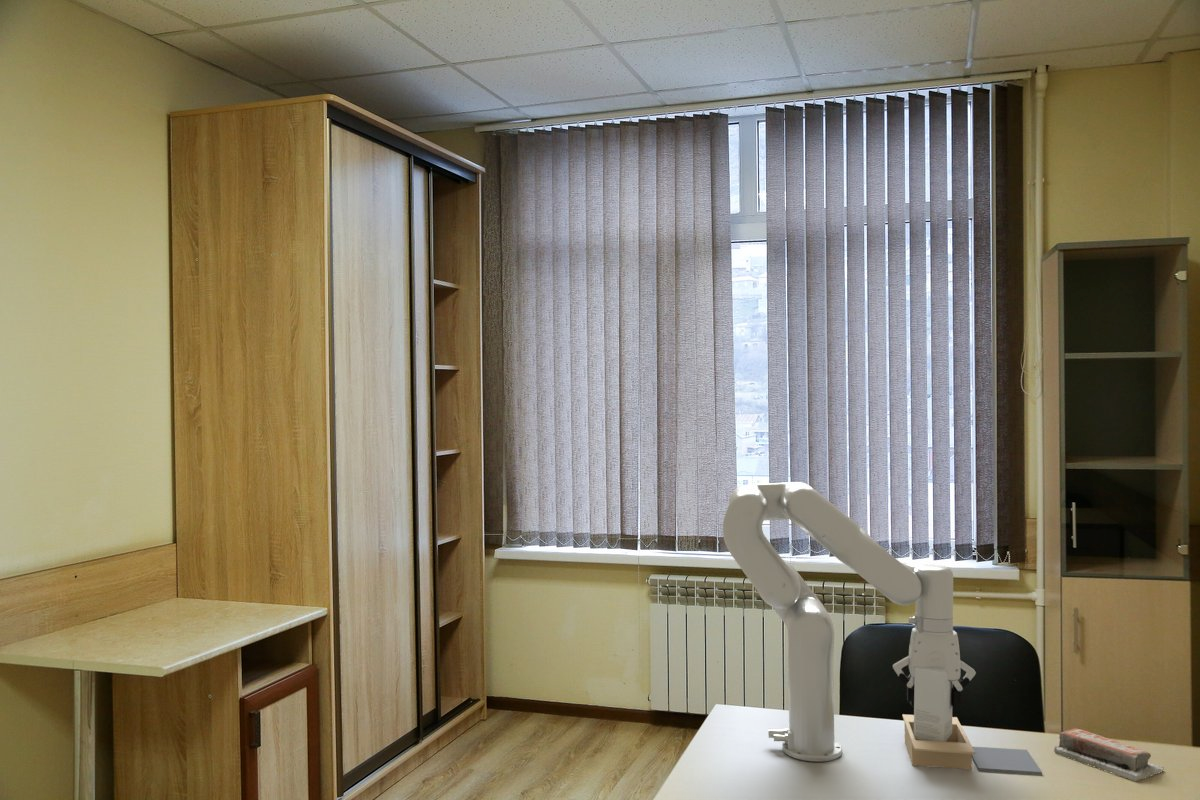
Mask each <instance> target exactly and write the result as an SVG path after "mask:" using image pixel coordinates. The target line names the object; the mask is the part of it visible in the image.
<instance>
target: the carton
mask: <svg viewBox="0 0 1200 800" xmlns="http://www.w3.org/2000/svg"><path fill="white" fill-rule="evenodd" d="M902 719H903V723H904V745H905V748H906V751H907V754H908V755H909V759H910V762H911V766H914V767H915V766H916V767H918V766H919V767H929V768H930V767H931V768H932V767H933V768H947V769H960V770H961V769H964V770H972V768H973V765H972V763H973V762H972V761H973V759H972V755H971V754H975V751H974V749H973V747H974V746H973V745H972V744H971V741H970V739H969V738H968V736H967V733H966V732H965V730H964V728H963V726H962V725H961V723H960V721H959V718H958V717H957V716H952V734H951V735H950V737H949V738H948V740H947V741H946V742H940V741H923V740H916V739H915V737H914V714H904V713H903V714H902Z"/></svg>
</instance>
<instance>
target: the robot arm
mask: <svg viewBox="0 0 1200 800" xmlns="http://www.w3.org/2000/svg"><path fill="white" fill-rule="evenodd" d="M780 520H782V521H783V520H784V521H785V520H790V521H791V522H792V523H793V524H794V525H796V526H797V527H798V528H799V529H800V530H802V531H803V532H804V533H806V535H808V536H810V538H812V539H813V540H814V541H816V543H818V544H819V545H820V546H822V547H823V548H824V549H825V550H826V551H828V552H829V553H830V554H831V555H833V556H834V557H835V558H836V559H837V560H838V561H840V562H841V563H842V564H844V565H845V566H848V568H850V569H851V570H853V571H854V572H855V573H856V574H858V575H859V576H860V577H861V578H862V579H864V580H865V581H866V582H867V583H869V584H870V585H871V586H872V587H873V588H874V589H876V590H877V591H878V592H880V593H881V594H882V595H883V596H885V598H887V599H888V600H889V601H891V602H892V603H894V604H896V605H898V606H899V605H900V606H909V605H912V604H914V603H915V613H914V616H913V617H909V616H908V624H910V625H914V627H913V628H912V629H911V633H910V634H911V635H910V639H909V647H908V655H907V656H906V657H903V658H902V659H900V660H898V661H896V662H895V663H893V664H892V669H893V670H894V672H895V673H896V675H897V677H898V678H899V679H900V680H901V681H902V682H903V683H904V684H905V685H906V701H907V702H909V704H910V705H911V707H912V708H914V684H915V667H922V668H937V669H947V670H948V681H952V683H953V688H952V709H953V710H955V711H958V710H959V706H961V704H962V703H961V702H962V701H961V697H962V696H961V694H962V691H963V690H964V688H965V687H967V686H968V685H969V683H970V682H971V681H972V679H973V678H974V677H975V676H976V675H977V672H976V671H975V669H974V668H972V667H971V666H970V665H968V664H967V663H965V662H964V661H962V660H961V653H960V644H959V643H960V642H959V637H958V632H956V631H955V630H954V572H953V571H952V570H951V568H950V567H948V566H945V565H944V566H943V565H939V564H937V565H936V564H922V565H918V564H909V563H905V562H901V561H900V560H898V559H897V558H896V557H895V556H893V555H892V554H891V553H890V552H888V551H887V550H886V549H884V547H882V546H881V545H880V544H879V543H878V542H877V541H875V540H874V538H873V537H871V536H870V534H868V532H867V531H866V530H865V529H863V527H861V525H859V524H858V523H857V522H855V521H854V520H853V519H852V518H851V517H850V516H848V515H847V514H845V513H844V512H843V511H842V510H841V509H839V508H838V507H836V506H835V504H833V503H832V502H831V501H829V500H828V499H827V498H825V497H824V496H823V495H822V494H821V493H819V492H818V491H817V490H816V489H815V488H813V487H812V486H811V485H809V484H808V483H805V482H803V481H791V482H790V481H789V482H776V483H773V482H772V483H754V484H753V483H752V484H751V483H750V484H743V485H740V486H738V487H736V488H735V489H734V490H733V491H732V493H731V494H730V496H729V500H728V506H727V508H726V511H725V513H724V517H723V520H722V535H723V540H724V544H725V546H726V548H727V550H728V552H729V554H730V555H731V557H732V558H733V559H734V561H735V562H736V564H737V566H739V568H740V569H741V570H742V572H743V573H744V575H745V576H746V577H747V579H748V580H749V581H750V583H751V585H752V586H753V587H754V588H755V590H756V592H757V593H758V595H759V596H760V598H761V599H762V601H764V602H765V604H767V605H769V606H770V607H771V608H772V609H773V611H774V612H775V613H776V614H777V616H778V617H779V618H780V620H782V622H783V623H784V624H785V626H786V629H787V635H788V637H787V639H788V640H787V641H788V644H787V645H788V648H787V650H788V655H787V659H788V660H787V664H788V665H787V666H788V668H787V670H788V674H787V677H788V723H789V724H787V728H784V727H783V728H782V729H777V728H768V738H769V739H773V742H782V751H783V753H785V754H786V755H788V757H791V758H794V759H797V760H800V761H805V762H817V763H819V762H820V763H821V762H830V761H833V760H837V759H838V758H839V757H841V756H842V754H843V748H842V745H841V744H840V743H839V742H837V741H835V698H834V697H835V695H834V693H835V691H834V690H835V689H834V685H835V684H834V681H835V680H834V652H835V651H834V649H835V628H834V623H833V620H832V619H831V616H830V614H829V613H828V611H827V609H826V607H825V606H824V605H823V603H822V602H821V600H820V599H819V598H818V597H817V595H816V594H815V592H813V590H812V589H811V587H810V586H809V585H808V584H807V583H806V581H805V580H804V578H803V577H802V576H801V575H800V574H799V572H798V571H797V569H796V568H795V567H794V566H793V565H792V564H791V563H790V562H789V561H788V560H785V559H783V558H782V557H781V556H780V554H779V553H778V552H777V551H776V549H775V547H774V546H773V544H772V543H771V541H769V539H767V536H766V535H765V534H764V530H763V525H764V524H763V523H764V521H780ZM907 666H908V670H909V671H908V672H909V673H910V674H908V676H907V675H906V674H905V673H904V671H903V670H902V669H903V668H904V667H907ZM961 670H963V671H964V672H966V673H965V675H964V676H962V677H961Z"/></svg>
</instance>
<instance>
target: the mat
mask: <svg viewBox="0 0 1200 800" xmlns="http://www.w3.org/2000/svg"><path fill="white" fill-rule="evenodd" d="M972 747H973V749H974V751H975V754H971V755H972V761H973V763H974V764H975V767H976V769H977V770H978V771H979V772H987V773H988V772H989V773H991V772H992V773H1006V774H1020V775H1022V774H1023V775H1034V776H1035V775H1038V776H1042V775H1043V771H1042V769H1041V768H1040V767H1039V765H1038V764H1037V763H1036V761H1035V759H1034V758H1033V757H1032V755H1031V754H1030V752H1029V750H1028V749H1024V748H1023V749H1020V748H1006V747H1005V748H1003V747H1002V748H1001V747H986V746H972Z"/></svg>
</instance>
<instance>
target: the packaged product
mask: <svg viewBox="0 0 1200 800" xmlns="http://www.w3.org/2000/svg"><path fill="white" fill-rule="evenodd" d="M1058 738H1059V742H1058V743H1059V745H1057V746H1054V749H1053V753H1054V752H1055V754H1057V753H1058V755H1060V754H1061V755H1060V756H1063V757H1065V756H1066V758H1068V757H1069V759H1071V758H1072V759H1071V760H1073V759H1075V760H1074V761H1076V760H1077V762H1079V761H1080V762H1079V763H1082V762H1083V763H1082V764H1084V763H1085V764H1084V765H1087V764H1089V765H1088V766H1090V765H1091V767H1093V766H1095V767H1097V768H1096V769H1098V768H1100V769H1099V770H1101V769H1103V770H1102V771H1104V770H1106V771H1108V772H1107V773H1109V772H1112V773H1114V774H1113V775H1115V774H1117V775H1116V776H1118V775H1120V776H1119V777H1121V776H1123V777H1122V778H1124V777H1125V778H1124V779H1127V778H1128V780H1130V779H1131V780H1130V781H1133V782H1138V780H1139V781H1140V779H1142V780H1144V779H1146V778H1145V777H1147V778H1149V777H1148V776H1150V777H1152V776H1151V775H1153V776H1155V775H1154V774H1156V773H1158V774H1160V773H1159V772H1161V771H1163V770H1165V769H1164V767H1165V766H1164V767H1163V766H1160V765H1156V764H1154V763H1150V762H1149V760H1150V758H1151V756H1152V755H1151V753H1150V752H1147V751H1145V750H1142V749H1140V748H1136V747H1134V746H1130V745H1129V744H1126V743H1121V742H1120V741H1117V740H1113V739H1110V738H1107V737H1106V736H1105V737H1104V736H1103V735H1099V734H1096V733H1093V732H1090V731H1087V730H1084V729H1080V728H1076V727H1074V728H1072V729H1069V730H1068V729H1067V730H1065V731H1062V732H1060V733H1059V737H1058ZM1095 767H1094V768H1095ZM1106 771H1105V772H1106ZM1163 772H1164V771H1163ZM1112 773H1111V774H1112ZM1161 773H1162V772H1161ZM1156 775H1157V774H1156ZM1143 778H1144V779H1143Z"/></svg>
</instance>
